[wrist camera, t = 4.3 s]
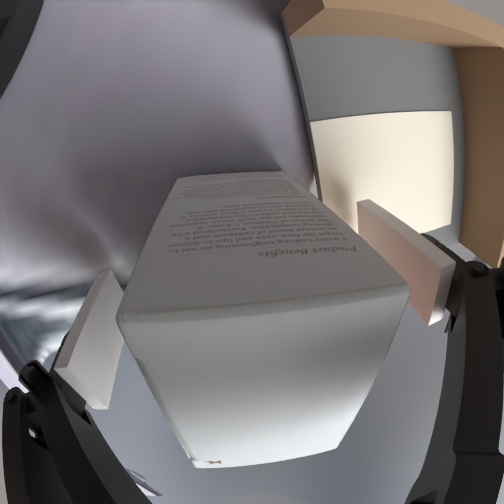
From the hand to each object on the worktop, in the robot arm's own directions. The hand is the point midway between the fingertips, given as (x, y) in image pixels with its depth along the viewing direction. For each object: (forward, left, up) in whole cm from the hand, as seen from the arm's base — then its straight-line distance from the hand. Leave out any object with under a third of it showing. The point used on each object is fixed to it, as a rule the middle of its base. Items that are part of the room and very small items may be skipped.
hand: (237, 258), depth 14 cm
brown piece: (+11, +4, -2) cm, 12 cm away
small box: (0, 0, -2) cm, 2 cm away
